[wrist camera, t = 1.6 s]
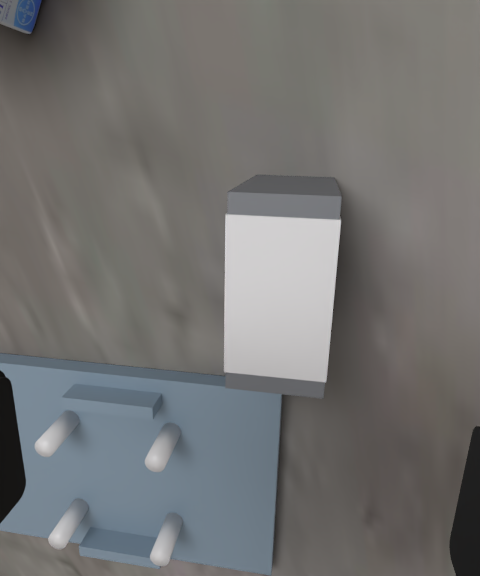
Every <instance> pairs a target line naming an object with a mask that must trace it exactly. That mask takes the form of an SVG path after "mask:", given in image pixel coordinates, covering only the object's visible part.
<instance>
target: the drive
mask: <svg viewBox="0 0 480 576" xmlns="http://www.w3.org/2000/svg"><path fill="white" fill-rule="evenodd" d="M341 198H342V196H341V193H340V191H339V188H338V185H337V183H336V180H335V178H334V177H305V176H276V175H255V176H254V177H252V178H250V179H249V180H247V181H245V182H244V183H242V184H240V185H239V186H237V187H235V188H233V189H232V190H230V191H228V209H227V214H226V220H225V315H224V372H226V378H225V388H228V389H237V390H247V391H256V392H265V393H275V394H284V395H294V396H303V397H313V398H322V399H323V398H324V386H325V382H326V380H327V369H328V359H329V348H330V337H331V326H332V315H333V304H334V293H335V282H336V271H337V260H338V249H339V238H340V227H341V218H340V209H341Z"/></svg>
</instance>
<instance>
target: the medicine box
mask: <svg viewBox="0 0 480 576" xmlns="http://www.w3.org/2000/svg"><path fill="white" fill-rule="evenodd" d="M41 1H42V0H0V24H2V25H4V26H7V27H10V28H12V29H15V30H18V31H20V32H23V33H26V34H31V33H32V31H33V28H34V26H35V22H36V19H37V16H38V12H39V8H40V4H41Z"/></svg>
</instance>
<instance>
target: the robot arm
mask: <svg viewBox="0 0 480 576" xmlns="http://www.w3.org/2000/svg"><path fill="white" fill-rule="evenodd" d="M25 487H26V477H25V470H24V463H23V457H22V450H21V443H20V437H19V430H18V423H17V416H16V410H15V403H14V396H13V390H12V384H11V381H10V380H9V379H8V378H6V376H5V374H4V373H3V372H2V371H1V370H0V524H1V522H2V521H3V520H4V519H5V517H6V516H7V515H8V514H9V513H10V511H11V510H12V509H13V508H14V506H15V505H16V504H17V503H18V502H19V500H20V499H21V497H22V495H23V493H24V491H25ZM450 555H451V560H452V564H453V567H454V570H455V573H456V576H480V427H479V426H477V427H475V428H474V430H473V433H472V437H471V442H470V446H469V451H468V456H467V461H466V465H465V470H464V475H463V480H462V484H461V489H460V494H459V499H458V503H457V508H456V513H455V518H454V522H453V527H452V532H451V537H450Z"/></svg>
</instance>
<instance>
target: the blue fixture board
mask: <svg viewBox="0 0 480 576" xmlns="http://www.w3.org/2000/svg"><path fill="white" fill-rule="evenodd" d="M0 370H1V371H2V372H3V373H4V374H5V376H6V378H8V379H9V380H10V381H11V384H12V390H13V396H14V403H15V410H16V416H17V423H18V430H19V437H20V443H21V450H22V457H23V463H24V470H25V477H26V487H25V491H24V493H23V495H22V497H21V499H20V500H19V502H18V503H17V504H16V505H15V506H14V508H13V509H12V510H11V511H10V513H9V514H8V515H7V516H6V517H5V519H4V520H3V521H2V522H1V524H0V530H1V531H7V532H13V533H19V534H25V535H31V536H37V537H43V538H48V541H49V543H50V545H51V546H52V547H54V548H56V549H63V548H64V547H65V546H66V544H67V543H68V542H73V543H79V544H80V545H79V552H80V556H86V557H92V558H98V559H104V560H110V561H116V562H122V563H127V564H133V565H139V566H145V567H151V568H157V569H160V567H161V566H166V565H167V564H168V563H169V560H170V559H175V560H181V561H187V562H193V563H199V564H205V565H211V566H217V567H223V568H229V569H235V570H241V571H247V572H253V573H259V574H265V575H271V573H272V564H273V550H274V532H275V515H276V498H277V480H278V463H279V446H280V428H281V411H282V394H275V393H265V392H256V391H247V390H237V389H228V388H225V378H226V376H218V375H208V374H198V373H189V372H179V371H169V370H159V369H150V368H140V367H130V366H120V365H110V364H101V363H91V362H81V361H71V360H62V359H52V358H42V357H32V356H23V355H13V354H3V353H0Z"/></svg>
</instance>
